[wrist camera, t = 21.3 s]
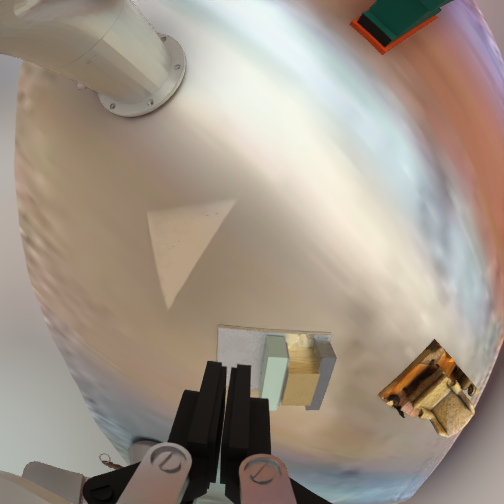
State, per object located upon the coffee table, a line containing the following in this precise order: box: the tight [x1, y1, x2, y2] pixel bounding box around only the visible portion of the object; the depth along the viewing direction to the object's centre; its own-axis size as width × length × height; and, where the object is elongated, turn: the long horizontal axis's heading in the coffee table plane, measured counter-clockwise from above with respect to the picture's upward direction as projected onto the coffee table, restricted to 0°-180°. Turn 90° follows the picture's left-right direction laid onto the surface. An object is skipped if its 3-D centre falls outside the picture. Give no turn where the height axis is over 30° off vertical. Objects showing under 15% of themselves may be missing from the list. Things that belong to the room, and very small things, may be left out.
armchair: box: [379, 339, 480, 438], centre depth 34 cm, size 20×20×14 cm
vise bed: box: [217, 325, 336, 410], centre depth 35 cm, size 16×11×6 cm
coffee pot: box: [99, 440, 160, 470], centre depth 38 cm, size 21×12×15 cm, turn 7°
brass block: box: [281, 348, 320, 406], centre depth 35 cm, size 4×6×6 cm, turn 175°
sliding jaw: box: [259, 336, 290, 411], centre depth 35 cm, size 3×10×5 cm, turn 175°
